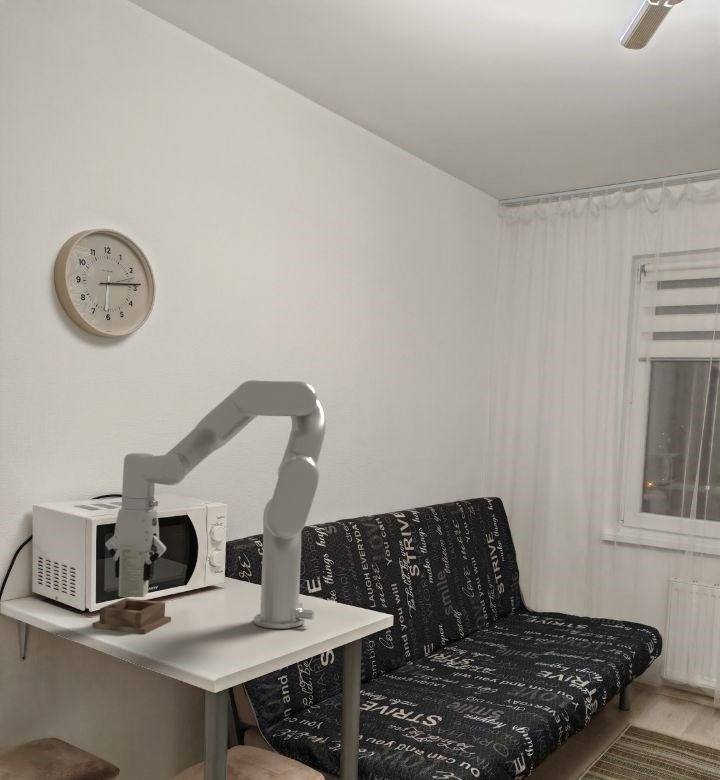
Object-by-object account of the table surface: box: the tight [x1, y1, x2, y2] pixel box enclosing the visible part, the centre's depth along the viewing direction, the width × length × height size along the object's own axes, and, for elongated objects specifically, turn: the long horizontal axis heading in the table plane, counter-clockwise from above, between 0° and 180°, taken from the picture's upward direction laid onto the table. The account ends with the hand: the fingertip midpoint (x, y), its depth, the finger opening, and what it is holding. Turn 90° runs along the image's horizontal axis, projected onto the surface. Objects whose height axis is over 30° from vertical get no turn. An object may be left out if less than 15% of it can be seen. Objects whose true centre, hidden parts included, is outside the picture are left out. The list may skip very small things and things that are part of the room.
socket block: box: [91, 597, 172, 635], centre depth 187 cm, size 14×12×4 cm
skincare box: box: [118, 546, 149, 598], centre depth 187 cm, size 6×4×12 cm
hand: (133, 577), depth 187 cm, fingers closed on skincare box, 6 cm apart
